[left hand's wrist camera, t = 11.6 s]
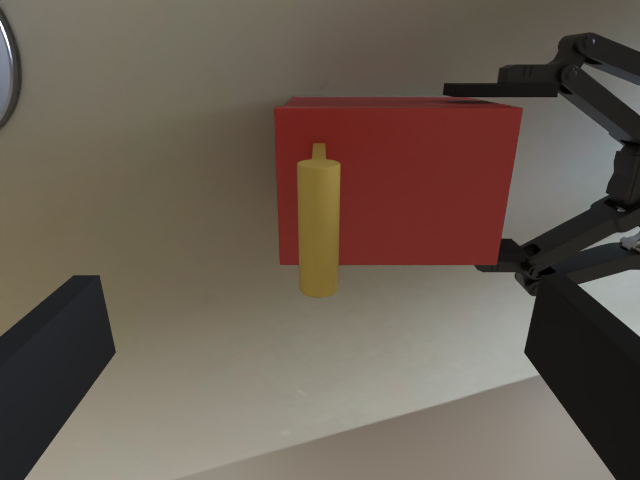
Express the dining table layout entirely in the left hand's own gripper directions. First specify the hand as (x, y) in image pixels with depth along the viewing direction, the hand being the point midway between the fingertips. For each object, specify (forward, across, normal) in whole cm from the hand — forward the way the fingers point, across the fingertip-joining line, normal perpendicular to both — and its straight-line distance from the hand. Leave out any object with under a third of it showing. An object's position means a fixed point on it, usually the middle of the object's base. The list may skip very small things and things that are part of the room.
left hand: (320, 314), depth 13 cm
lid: (+15, -4, 0) cm, 16 cm away
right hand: (+19, -8, 0) cm, 20 cm away
